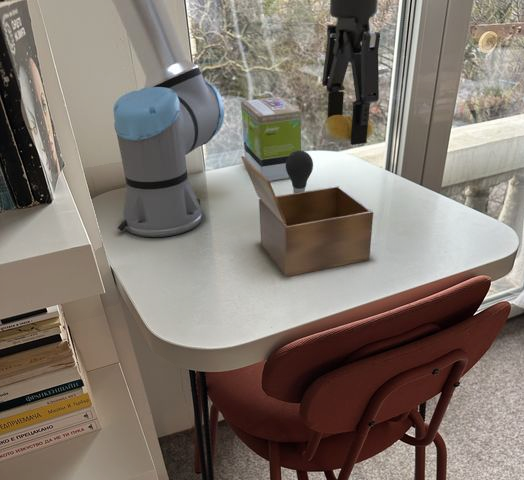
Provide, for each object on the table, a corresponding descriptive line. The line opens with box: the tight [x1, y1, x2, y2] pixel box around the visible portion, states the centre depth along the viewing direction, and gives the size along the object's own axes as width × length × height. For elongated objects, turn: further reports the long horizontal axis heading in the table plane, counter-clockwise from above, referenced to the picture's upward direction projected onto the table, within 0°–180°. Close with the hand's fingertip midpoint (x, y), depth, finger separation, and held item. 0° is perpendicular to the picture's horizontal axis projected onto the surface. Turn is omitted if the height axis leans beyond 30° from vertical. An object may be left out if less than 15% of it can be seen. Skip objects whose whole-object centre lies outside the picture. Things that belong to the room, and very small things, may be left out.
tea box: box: [240, 96, 302, 182], centre depth 127 cm, size 15×10×15 cm
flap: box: [241, 155, 286, 224], centre depth 86 cm, size 7×13×1 cm
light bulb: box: [286, 149, 314, 194], centre depth 113 cm, size 6×6×10 cm
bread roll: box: [321, 115, 374, 144], centre depth 99 cm, size 8×9×4 cm
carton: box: [258, 185, 374, 277], centre depth 94 cm, size 15×13×8 cm
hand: (345, 136), depth 99 cm, fingers closed on bread roll, 9 cm apart
